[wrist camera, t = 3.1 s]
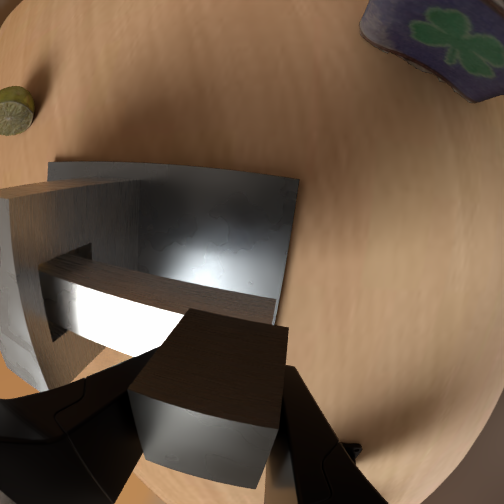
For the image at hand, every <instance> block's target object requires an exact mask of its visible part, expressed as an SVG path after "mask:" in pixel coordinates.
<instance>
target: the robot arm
mask: <svg viewBox="0 0 504 504" xmlns="http://www.w3.org/2000/svg"><path fill="white" fill-rule="evenodd" d="M160 346H161V345H160ZM160 346H158V347H156V348H153V349H151V350H149V351H147V352H144V353H142V354H140V355H138V356H135V357H133V358H131V359H128V360H126V361H124V362H121V363H119V364H117V365H114V366H112V367H109V368H107V369H105V370H102V371H100V372H97V373H95V374H92V375H90V376H87V377H86V378H82V379H80V380H77V381H75V382H72V383H69V384H66V385H63V386H61V387H57V388H54V389H50V390H47V391H43V392H39V393H35V394H31V395H27V396H23V397H18V398H14V399H0V504H114V503H115V502H116V500H117V498H118V496H119V494H120V493H121V491H122V489H123V487H124V485H125V483H126V482H127V480H128V478H129V477H130V475H131V473H132V471H133V469H134V468H135V466H136V464H137V462H138V460H139V459H140V457H141V455H142V453H143V450H142V446H141V443H140V439H139V436H138V432H137V428H136V425H135V421H134V417H133V412H132V408H131V404H130V399H129V395H128V390H127V389H128V387H129V386H130V385H131V384H132V382H133V381H134V380H135V378H136V377H137V376H138V374H139V373H140V372H141V370H142V369H143V368H144V366H145V365H146V364H147V363H148V361H149V360H150V359H151V357H152V356H153V355H154V353H155V352H156V351H157V349H158V348H159V347H160ZM361 451H362V446H361V445H360V444H341V442H339V439H338V437H337V436H336V434H335V432H334V431H333V429H332V428H331V426H330V424H329V423H328V421H327V419H326V418H325V416H324V414H323V413H322V411H321V409H320V408H319V406H318V405H317V403H316V401H315V400H314V398H313V396H312V395H311V393H310V391H309V390H308V388H307V386H306V385H305V383H304V381H303V379H302V378H301V376H300V374H299V373H298V371H297V369H296V368H295V367H294V366H290V365H285V376H284V386H283V395H282V404H281V413H280V422H279V429H278V432H277V435H276V438H275V441H274V443H273V446H272V449H271V452H270V454H269V457H268V460H267V462H266V480H265V498H264V504H388V502H387V501H386V500H385V499H384V498H383V497H382V496H381V495H380V493H379V492H378V491H377V490H376V489H375V488H374V487H373V485H372V484H371V483H370V482H369V481H368V480H367V479H366V477H365V476H364V475H363V474H362V472H361V471H360V470H359V469H358V467H357V466H356V460H355V459H356V457H357V456H358V455H359V453H360V452H361Z"/></svg>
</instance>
